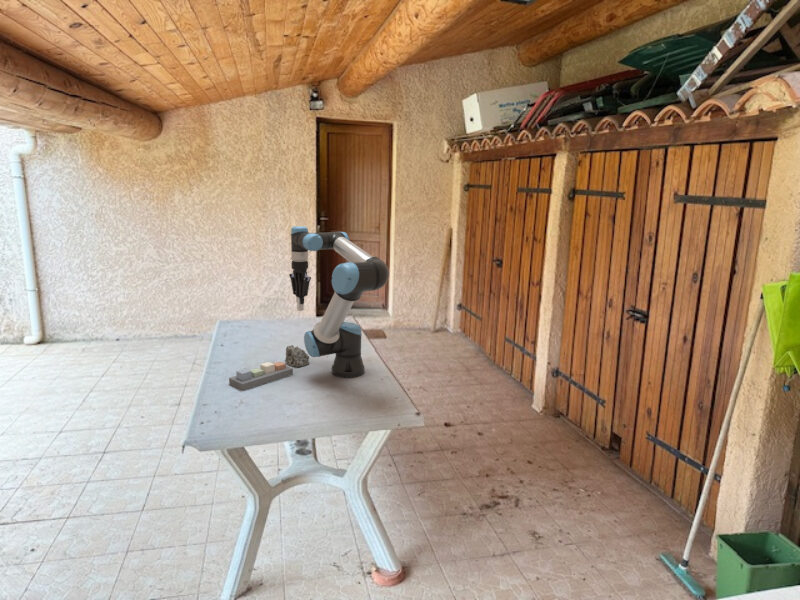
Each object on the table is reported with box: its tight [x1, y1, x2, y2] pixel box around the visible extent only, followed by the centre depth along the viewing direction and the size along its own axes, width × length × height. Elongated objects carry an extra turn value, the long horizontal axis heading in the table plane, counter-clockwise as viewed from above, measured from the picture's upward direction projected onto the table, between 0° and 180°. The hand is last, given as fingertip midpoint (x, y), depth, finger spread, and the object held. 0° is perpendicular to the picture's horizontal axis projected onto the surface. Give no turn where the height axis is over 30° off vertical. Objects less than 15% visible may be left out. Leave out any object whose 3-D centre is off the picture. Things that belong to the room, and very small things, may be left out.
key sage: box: [249, 367, 263, 378], centre depth 222 cm, size 4×4×4 cm
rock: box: [284, 344, 310, 368], centre depth 245 cm, size 13×10×10 cm
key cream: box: [259, 361, 275, 374], centre depth 226 cm, size 4×4×4 cm
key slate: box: [235, 368, 251, 382], centre depth 217 cm, size 4×4×4 cm
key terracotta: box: [273, 361, 287, 371], centre depth 231 cm, size 4×4×4 cm
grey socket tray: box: [228, 365, 294, 392], centre depth 224 cm, size 10×26×3 cm, turn 140°
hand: (300, 310), depth 240 cm, fingers closed
